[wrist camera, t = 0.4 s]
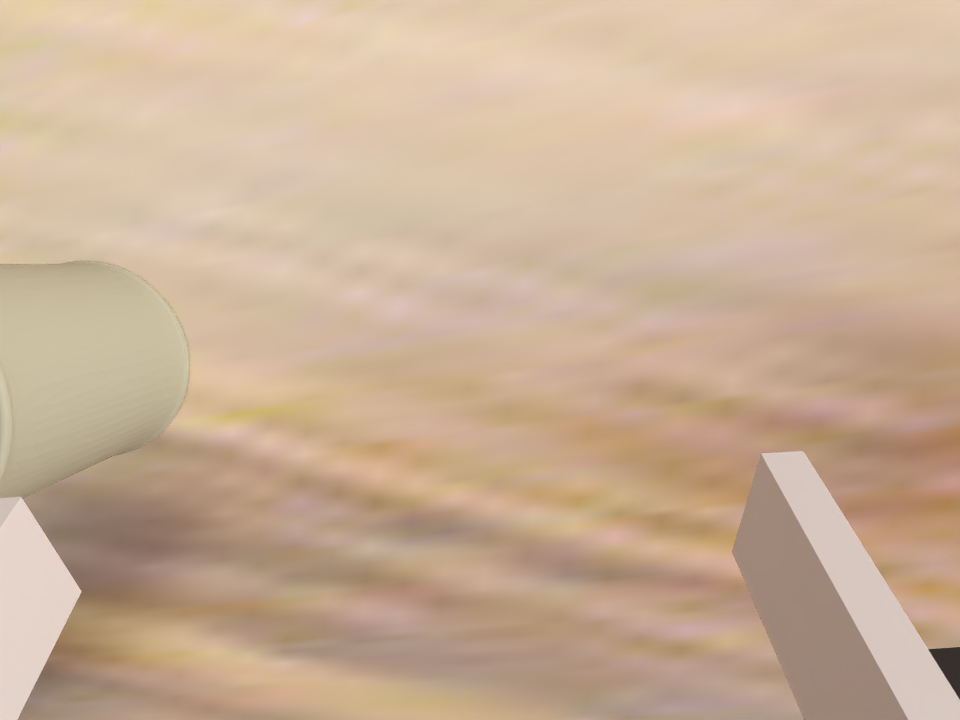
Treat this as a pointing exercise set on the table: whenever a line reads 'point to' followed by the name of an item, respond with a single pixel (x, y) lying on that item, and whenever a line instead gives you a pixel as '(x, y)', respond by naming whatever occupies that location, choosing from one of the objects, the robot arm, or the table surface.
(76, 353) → the can
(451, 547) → the table surface
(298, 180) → the table surface
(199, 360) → the table surface
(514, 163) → the table surface
